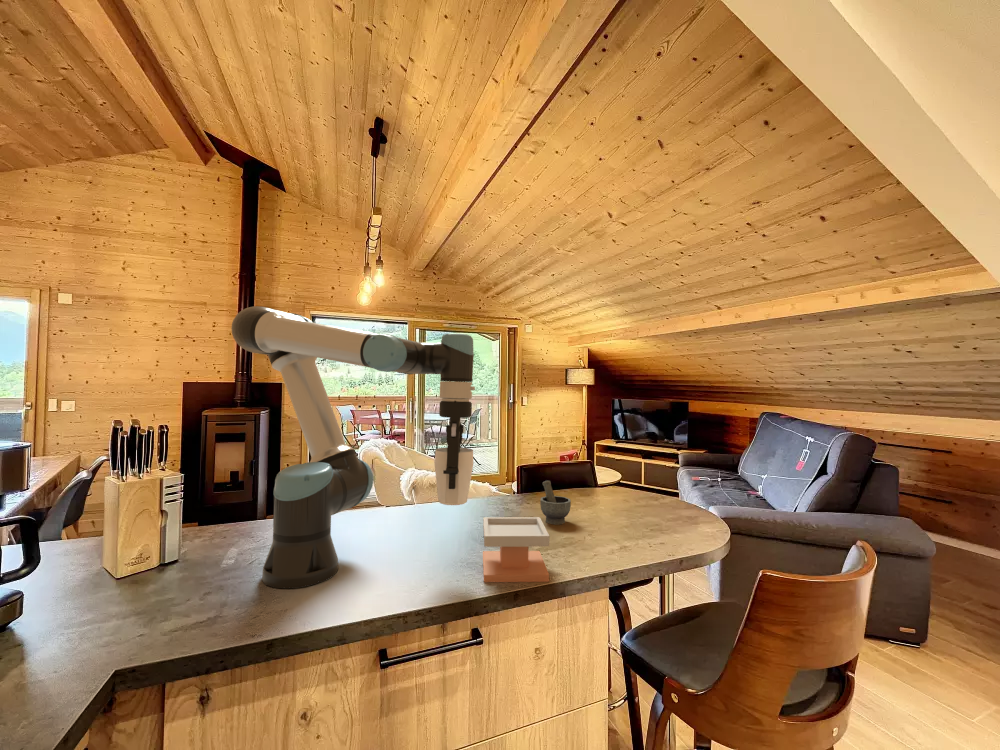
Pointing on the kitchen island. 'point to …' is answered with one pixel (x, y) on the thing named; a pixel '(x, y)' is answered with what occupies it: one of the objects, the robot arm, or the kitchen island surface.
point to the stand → (514, 549)
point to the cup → (464, 474)
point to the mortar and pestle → (554, 506)
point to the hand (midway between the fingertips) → (452, 497)
